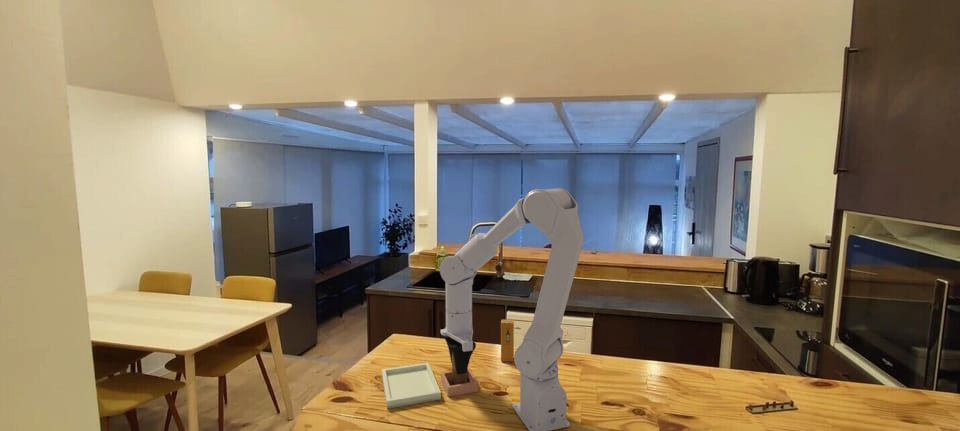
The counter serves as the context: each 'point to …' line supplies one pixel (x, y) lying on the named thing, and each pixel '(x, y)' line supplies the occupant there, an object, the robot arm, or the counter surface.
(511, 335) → the supplement box
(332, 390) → the counter surface
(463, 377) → the dowel
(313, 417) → the counter surface
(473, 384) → the holder
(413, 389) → the tray
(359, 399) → the counter surface
